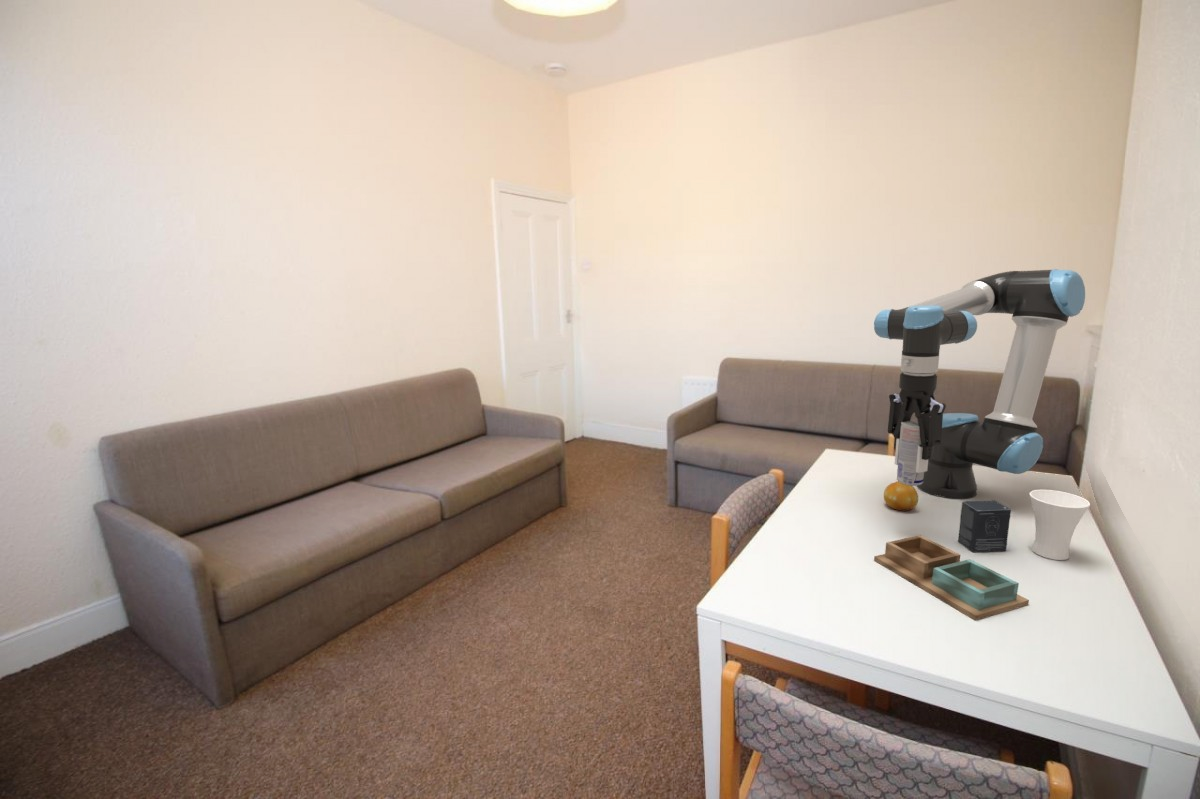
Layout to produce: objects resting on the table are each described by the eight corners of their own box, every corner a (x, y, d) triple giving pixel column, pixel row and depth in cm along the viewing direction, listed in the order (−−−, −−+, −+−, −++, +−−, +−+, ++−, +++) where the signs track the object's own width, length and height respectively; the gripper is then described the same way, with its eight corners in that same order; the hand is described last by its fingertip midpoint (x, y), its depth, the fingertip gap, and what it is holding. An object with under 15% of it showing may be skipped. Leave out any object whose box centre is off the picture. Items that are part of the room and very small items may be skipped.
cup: (1031, 561, 121) (1039, 504, 118) (1014, 540, 131) (1022, 487, 128) (1089, 568, 118) (1100, 510, 115) (1068, 546, 127) (1077, 492, 124)
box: (989, 540, 131) (994, 499, 129) (1006, 552, 126) (1012, 509, 123) (956, 541, 131) (961, 500, 129) (972, 552, 126) (977, 510, 123)
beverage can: (926, 487, 129) (932, 426, 126) (900, 486, 130) (905, 426, 127) (918, 478, 134) (923, 420, 131) (893, 477, 135) (897, 419, 132)
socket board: (874, 560, 124) (875, 542, 123) (921, 549, 128) (923, 531, 127) (975, 620, 101) (978, 598, 100) (1028, 604, 106) (1031, 583, 105)
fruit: (903, 491, 156) (896, 471, 153) (928, 504, 149) (921, 483, 145) (882, 508, 155) (874, 488, 152) (905, 522, 148) (898, 501, 144)
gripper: (874, 368, 134) (868, 458, 139) (942, 381, 117) (932, 482, 122) (898, 366, 136) (891, 454, 141) (967, 377, 119) (957, 477, 124)
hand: (910, 467), depth 131 cm, fingers closed on beverage can, 5 cm apart
